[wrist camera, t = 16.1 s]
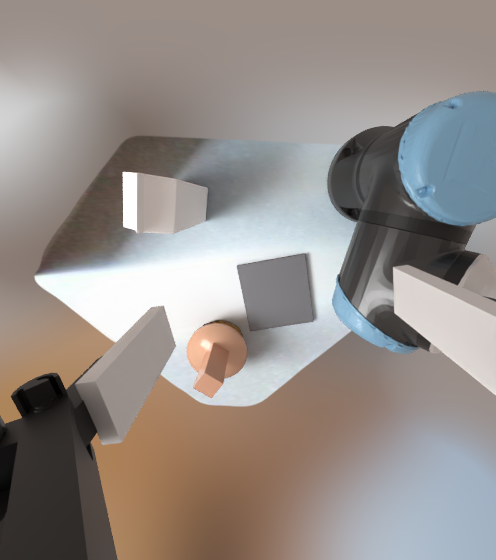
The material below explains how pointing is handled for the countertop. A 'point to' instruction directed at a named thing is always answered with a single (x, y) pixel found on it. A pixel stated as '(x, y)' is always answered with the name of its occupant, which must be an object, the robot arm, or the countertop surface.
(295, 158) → the countertop surface
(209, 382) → the lid
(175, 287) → the countertop surface
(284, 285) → the mat
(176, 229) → the milk
